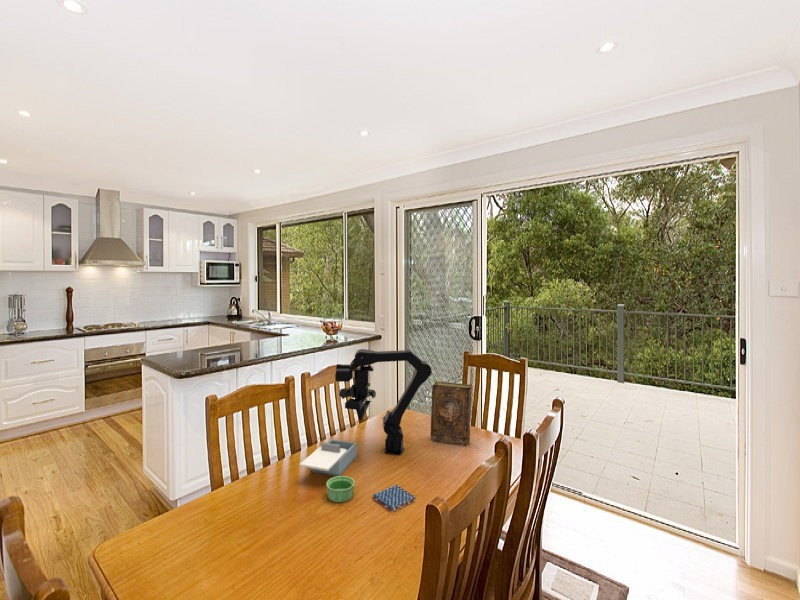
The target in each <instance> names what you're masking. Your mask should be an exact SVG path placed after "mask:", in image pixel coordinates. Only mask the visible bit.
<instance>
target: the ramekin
mask: <svg viewBox="0 0 800 600" xmlns="http://www.w3.org/2000/svg"><path fill="white" fill-rule="evenodd" d="M354 487H355V480H354V479H353V478H352V477H349V476H346V475H340V476H333V477H331V478H329V479H328V480H327V481H326V488H327V489H326V490H327V498H328V499H329V500H330V501H332V502H333V503H344V502H348V501H349V500H350V499H352V498H353V495H354Z"/></svg>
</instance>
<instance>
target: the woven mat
mask: <svg viewBox="0 0 800 600" xmlns="http://www.w3.org/2000/svg"><path fill="white" fill-rule="evenodd" d="M401 487H402V486H398V484H395V485H391V487H388V488H385V489H383V490H380V491H377V492H376V493H374V494H373V495H372V496H371V499H372V500H373V501H374V502H376V503H377V504H379V505H380V506H382V507H383V508H384V509H386V510H388V511H389V512H390V513H391V514H393V513H394V512H396V511H400V509H402V508H404V507H407V506H408V505H410V504H411V505H413V503H415V502H416V497H415V496H414V494H411V492H408V491H407V490H405V489H404V488H401Z"/></svg>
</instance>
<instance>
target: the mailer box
mask: <svg viewBox="0 0 800 600" xmlns="http://www.w3.org/2000/svg"><path fill="white" fill-rule="evenodd" d="M326 443H330V444H337V445H340V449H346V450H347V452H346V453H345V454H344V455H343V456H342V457H341V458H340V460H339V461H338V462H337V463H336V464H335V465H334V466H333V467H332V468H331V469H330V470H329V471H325V470H319V469H313V468H310V472H311V471H312V472H311V473H318V474H324V475H330V476H333V477H337V476H342V474H343V473H344V472H345V471H346V469H348V467H349V466H350V465H351V464H352V463H353V462H354V460H355V459H357V456H358V455H357V454H358V451H357V449H358V448H357V446H358V443H357V442H352V441H347V440H346V441H345V440H340V439H333V438H331V439H329V440H328V441H327V442H326Z"/></svg>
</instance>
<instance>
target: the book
mask: <svg viewBox="0 0 800 600" xmlns="http://www.w3.org/2000/svg"><path fill="white" fill-rule="evenodd" d="M431 388H432V389H431V410H430V411H431V412H430V414H431V415H430V416H431V417H430V440H431V442H435V443H440V442H442V443H441V444H446V443H448V445H453V444H455V446H460V445H463V446H462V447H468V446H469V445H470V444H471V443H470V441H471V438H470V436H471V412H472V411H471V410H472V409H471V408H472V385H471V384H467V383H466V384H465V383H456V382H447V381H435V382H434V383H433V384H432V386H431ZM467 445H468V446H467Z"/></svg>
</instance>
